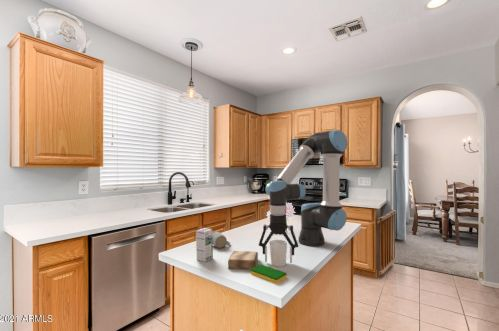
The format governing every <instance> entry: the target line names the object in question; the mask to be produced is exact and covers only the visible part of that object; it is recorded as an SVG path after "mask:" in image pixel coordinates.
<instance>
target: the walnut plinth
mask: <svg viewBox="0 0 499 331" xmlns="http://www.w3.org/2000/svg"><path fill="white" fill-rule="evenodd" d="M258 260H259V253H258V251H249V250H247V251H246V250H245V251H244V250H233V251H232V253H231V255H230V257H229V258H228V261H227V262H228V263H227V266H228V267H227V269H229V270H230V269H231V270H247V271H249V270H250V271H251V269H252V268H254V267H256V266H258Z"/></svg>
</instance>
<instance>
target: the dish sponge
mask: <svg viewBox="0 0 499 331" xmlns="http://www.w3.org/2000/svg"><path fill="white" fill-rule="evenodd" d="M250 274H251V275H253V276H254V277H258V278H261V279H263V280H266V281H268V282H271V283H273V284H277V285H278V284H279V283H281V282H282V281H284V280H286V279H287V278H288V277H287V272H285V271H282V270H279V269H278V268H273V267H270V266H267V265H264V264H262V263H261V264H259V265H258V264H257V265H256V267H254V268H252V269H251V270H250Z"/></svg>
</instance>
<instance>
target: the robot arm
mask: <svg viewBox="0 0 499 331" xmlns="http://www.w3.org/2000/svg"><path fill="white" fill-rule="evenodd" d="M348 143H349V142H348V138H347V135H346V134H345V133H344V132H343V131H342V130H340V129H333V130H327V131H321V132H320V131H319V132H316V133H313V134H311V135H310V136H309V137H308V138H306V139H305V140H304V142H303V143H301V144H300V146H299V148H298V151H297V153H296V154H295V155H294V156H293V157H292V159H291V160H290V161H289V163H287V165H286V166H285V167H284V168H283V169H282V171H281V172H280V174H279V175H278V177H276V179H274V180H271V181H270V182H268V183H267V184H266V186H265V193H266V195H268V197H269V213H270V215H269V224H263V226H262V228H263V229H262V233H261V235H260V236H261V237H260V239H259V241H258V246H259V247H261V248H262V255H264V262H265V263H267V262H268V246H267V244H268V243H269V242H270V241H271V238H272V237H273V236H274V235H281V236H283V237H284V238H285V241H286V242H287V243H288V245H289V264H293V256H295V249H296V248H298V247H299V244H301V245H304V246H309V247H319V246H323V245H325V244H326V243H325V242H326V241H325V240H326V239H325V236H324V233H323V229H327V230H329V231H340V230H342V229H343V228H344V226H345V225H346V223H347V219H348V218H347V213H346V210H344V209H343V205H342V203H341V202H340V170H341V169H340V167H341V166H340V164H341V162H340V159H341V158H342V156H343V155H344V154H343V152H345V150H347V148H348ZM319 153H320V157H322V158H323V159H322V162H323V163H322V201H321V202H311V203H309V202H308V203H303V204H302V205H301V207H300V208H301V210H300V220H301V221H300V224H301V225H300V226H301V228H300V232H299V235H298V240H297V238H296V234H295V232H294V225H293V224H291V225H287V201H293V200H300V199H303V198H305V196H306V193H307V191H306V187H305V186H304V185H303V184H302V183H292V182H293V181H294V180H295V178H296V177H297V175H298V174H299V173H300V172H301V170H302V169H303V168H304V167H305V165H306V164H307V162H309V159H311V158H313V157H315V156H316V155H317V154H319ZM322 228H323V229H322ZM268 229H269V230H270V233H269V234H268V236H267V237H266V239H265V240H264V238H265V234H266V232H267V230H268ZM287 229H288V231H290V234H291V238H292V240H293V241H292V240H291V239H290V237H289V235H288V234H287V232H286V231H287ZM263 241H264V242H263Z"/></svg>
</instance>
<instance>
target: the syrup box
mask: <svg viewBox="0 0 499 331" xmlns="http://www.w3.org/2000/svg"><path fill="white" fill-rule="evenodd" d="M212 234H213V229H212V228H208V227H203V228H200V229H197V230H196V232H195V242H196V243H195V244H196V246H195V248H196V250H195V251H196V260H197V261H199V260H200V261H201V262H204V263H206V262H207V261H210V260H211V259H213V258H214V253H213V252H214V251H213V250H214V245H213V240H212Z"/></svg>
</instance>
